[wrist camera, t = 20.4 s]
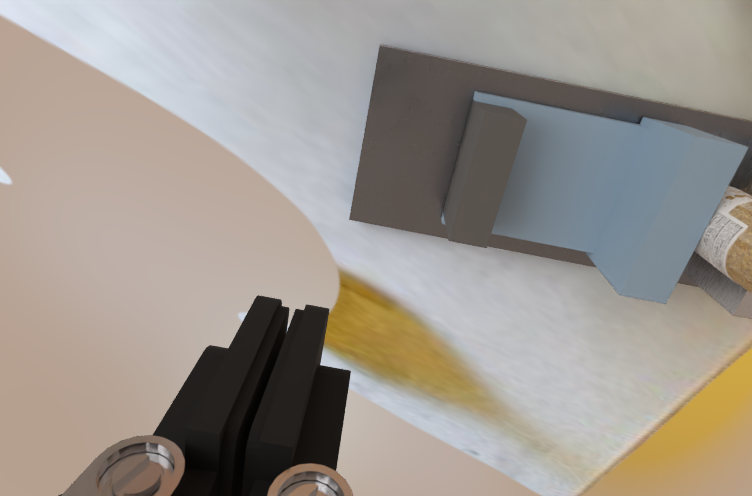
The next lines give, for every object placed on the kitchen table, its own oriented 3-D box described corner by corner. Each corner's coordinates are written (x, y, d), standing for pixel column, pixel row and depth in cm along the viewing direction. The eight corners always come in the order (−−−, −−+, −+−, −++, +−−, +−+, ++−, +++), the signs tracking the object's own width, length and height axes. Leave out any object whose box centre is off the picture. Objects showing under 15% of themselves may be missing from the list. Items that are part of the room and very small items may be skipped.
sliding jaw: (439, 225, 35) (446, 262, 29) (477, 82, 30) (493, 95, 25) (625, 261, 35) (665, 303, 30) (687, 125, 31) (748, 147, 25)
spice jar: (732, 178, 32) (932, 270, 20) (697, 237, 34) (860, 354, 22) (669, 161, 32) (833, 244, 20) (637, 222, 34) (769, 332, 22)
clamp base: (351, 212, 36) (339, 255, 30) (380, 44, 31) (374, 49, 24) (726, 285, 37) (799, 342, 30) (814, 133, 32) (924, 162, 25)
